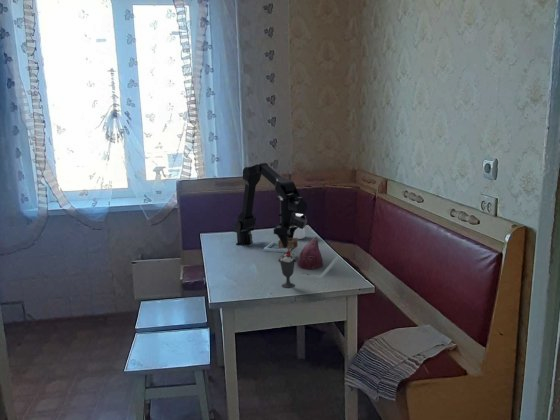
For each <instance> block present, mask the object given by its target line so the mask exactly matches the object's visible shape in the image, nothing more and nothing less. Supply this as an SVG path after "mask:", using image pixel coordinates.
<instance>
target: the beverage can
mask: <svg viewBox="0 0 560 420" xmlns="http://www.w3.org/2000/svg"><path fill="white" fill-rule="evenodd" d="M302 215H304V213H303V214H299V213H296V216H300V217H301V216H302ZM295 227H297V226H295ZM293 238H297V240H303V239H304V238H306V226H305V227H304V228H303V229H300V228H299V227H298V228H297V229H296V230H295V232H294V236H293Z"/></svg>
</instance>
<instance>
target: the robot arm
mask: <svg viewBox="0 0 560 420" xmlns="http://www.w3.org/2000/svg"><path fill="white" fill-rule="evenodd" d="M262 176H263V177H264V178H265V179H266V180H267V181H268V182H270V183H271V184H272V185H273V186H274V190H275V192H276V193H277V195H278V196H277V197H276V200H279V212H280V213H278V216H279V217H280V222H279V223H278V225H277V226H275V227H274V228H273V235H276V236H277V237H278V239H279V240H280V241H281V242H282V244H283V246H284V248H283V249H286V248H287V242H288V238H293V236H294V232H295V230H296V229H297V228H298V227H299V228H300V229H303V228H304V227H305V228H306V226H307V223H308V219H307V215H305V213H306V212H307V210H308V204H307V201H305V200H304V197H302V196H301V194H300V192H299V190H298V188H297V187H296V184H295V182H294V181H293V180H291V179H289V178H286V177H282V176H281V175H280V174H279V173H277V172H276V170H274V169H273V168H272V167H270V166H269V163H267V162H260V163H257V164H254V165H252V166H246V167H244V168H243V170H242V179H243V182H244V193H243V201H242V210H241V212H240V213H239V215H238V216H237V220H236V223H235V225H234V226H233V233H235V234H236V239H237V241H236V243H235V245H239V246H249V245H251V244H252V243H253V242H254V241H253V234H252V231H254V228H255V226H256V220H257V218H256V217H255V216H254V213H253V211H254V210H253V209H254V202H255V195H256V188H257V185H258V183H259V182H260V181H261V178H262ZM296 213H299V214H303V215H302V216H301V217H300V216H296ZM295 226H297V227H295Z"/></svg>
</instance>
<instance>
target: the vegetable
mask: <svg viewBox="0 0 560 420" xmlns="http://www.w3.org/2000/svg"><path fill="white" fill-rule="evenodd" d="M323 265H324V263H323V256H322V253H321V251H320V248H319V240H318V236H317V235H316V236H315V237H313V238H311V240H309V242H308V243H307V244H306V245H304V247H303V248H302V249H301V251H300V253H299V257H298V261H297V267H298V268H300V269H303V270H309V271H311V270H312V271H314V270H319V269H320V268H322V267H323Z"/></svg>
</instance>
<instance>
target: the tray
mask: <svg viewBox="0 0 560 420" xmlns="http://www.w3.org/2000/svg"><path fill="white" fill-rule="evenodd" d="M273 246H279V244H278V241H271V242H270V243H269V244H268V245H266V246H264V247H263V251H264V252H275V253H285V252H286V248H271V247H273ZM291 250H292V249H290V251H291Z"/></svg>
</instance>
